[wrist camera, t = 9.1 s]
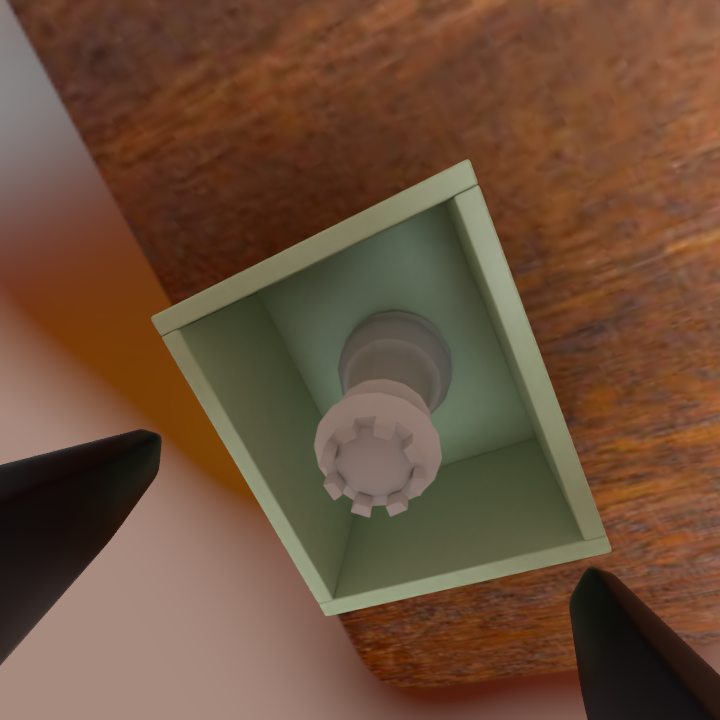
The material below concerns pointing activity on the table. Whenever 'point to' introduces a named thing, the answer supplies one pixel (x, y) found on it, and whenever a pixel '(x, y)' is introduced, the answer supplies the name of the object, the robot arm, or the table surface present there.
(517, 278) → the table surface
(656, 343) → the table surface
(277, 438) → the bin
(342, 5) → the table surface
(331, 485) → the rook chess piece
